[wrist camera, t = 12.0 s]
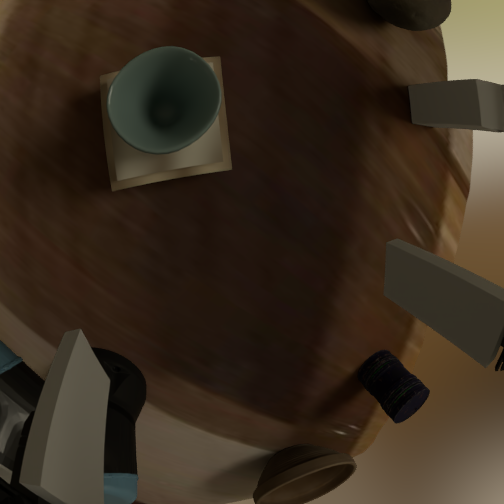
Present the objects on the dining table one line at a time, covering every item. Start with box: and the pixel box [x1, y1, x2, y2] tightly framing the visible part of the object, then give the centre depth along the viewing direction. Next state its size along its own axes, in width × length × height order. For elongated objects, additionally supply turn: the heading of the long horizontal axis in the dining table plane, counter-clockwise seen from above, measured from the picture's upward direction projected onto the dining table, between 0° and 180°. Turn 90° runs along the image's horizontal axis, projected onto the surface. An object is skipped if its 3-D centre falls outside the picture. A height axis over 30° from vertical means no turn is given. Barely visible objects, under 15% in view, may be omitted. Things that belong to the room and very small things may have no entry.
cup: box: [106, 46, 222, 156], centre depth 20 cm, size 8×8×10 cm
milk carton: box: [408, 79, 504, 132], centre depth 29 cm, size 7×7×19 cm
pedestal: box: [100, 57, 232, 191], centre depth 27 cm, size 13×13×6 cm
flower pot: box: [253, 444, 357, 504], centre depth 56 cm, size 28×28×13 cm
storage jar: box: [358, 350, 430, 423], centre depth 49 cm, size 10×10×15 cm
